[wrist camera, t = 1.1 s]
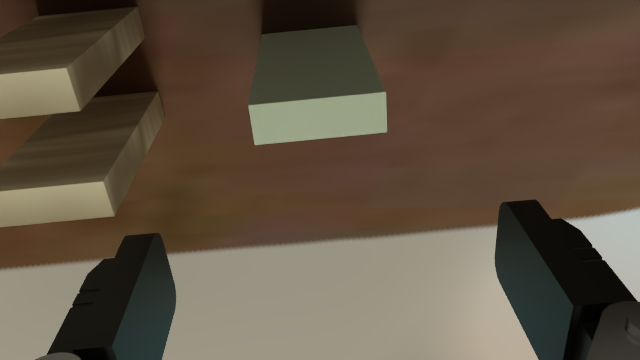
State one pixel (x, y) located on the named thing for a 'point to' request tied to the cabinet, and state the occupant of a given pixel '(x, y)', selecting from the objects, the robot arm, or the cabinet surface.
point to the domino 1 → (64, 59)
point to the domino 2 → (80, 161)
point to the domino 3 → (315, 87)
